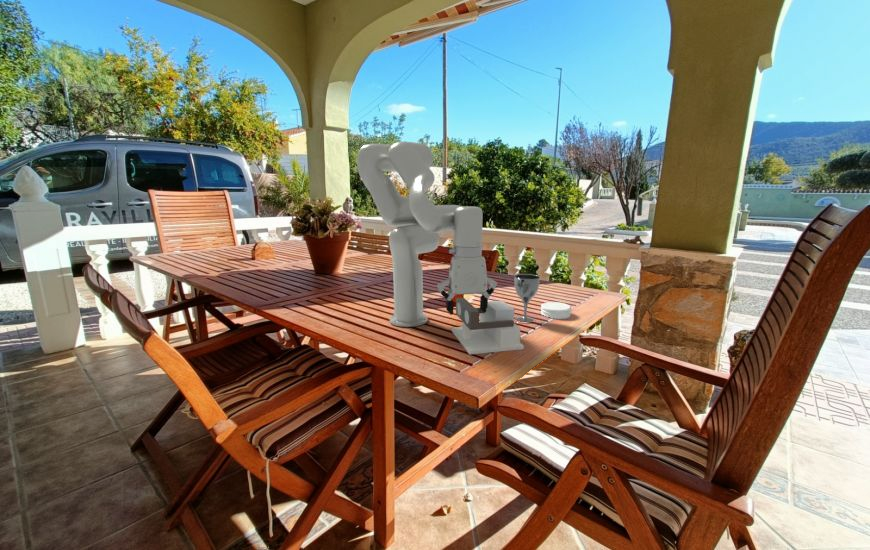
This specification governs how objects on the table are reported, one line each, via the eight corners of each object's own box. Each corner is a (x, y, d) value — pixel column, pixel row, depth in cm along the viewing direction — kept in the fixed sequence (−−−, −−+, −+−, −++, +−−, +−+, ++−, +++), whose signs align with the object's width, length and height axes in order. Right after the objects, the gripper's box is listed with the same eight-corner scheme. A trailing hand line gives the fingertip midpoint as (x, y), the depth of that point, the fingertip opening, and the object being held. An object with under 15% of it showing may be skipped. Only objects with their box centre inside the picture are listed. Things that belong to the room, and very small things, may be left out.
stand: (498, 326, 122) (499, 296, 120) (523, 349, 105) (525, 314, 103) (451, 330, 118) (451, 299, 116) (469, 354, 101) (470, 318, 99)
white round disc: (570, 321, 128) (571, 311, 127) (539, 318, 131) (540, 308, 130) (570, 312, 137) (571, 302, 136) (541, 309, 140) (542, 300, 139)
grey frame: (494, 311, 118) (494, 295, 117) (513, 326, 105) (514, 308, 104) (455, 314, 115) (455, 298, 114) (470, 330, 102) (470, 312, 101)
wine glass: (529, 325, 123) (532, 280, 119) (508, 320, 128) (510, 276, 124) (541, 319, 128) (544, 276, 125) (520, 314, 134) (522, 272, 130)
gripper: (440, 255, 99) (440, 318, 103) (502, 253, 103) (500, 313, 107) (434, 251, 106) (434, 310, 110) (492, 249, 110) (490, 306, 114)
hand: (466, 311), depth 108 cm, fingers open, 9 cm apart
